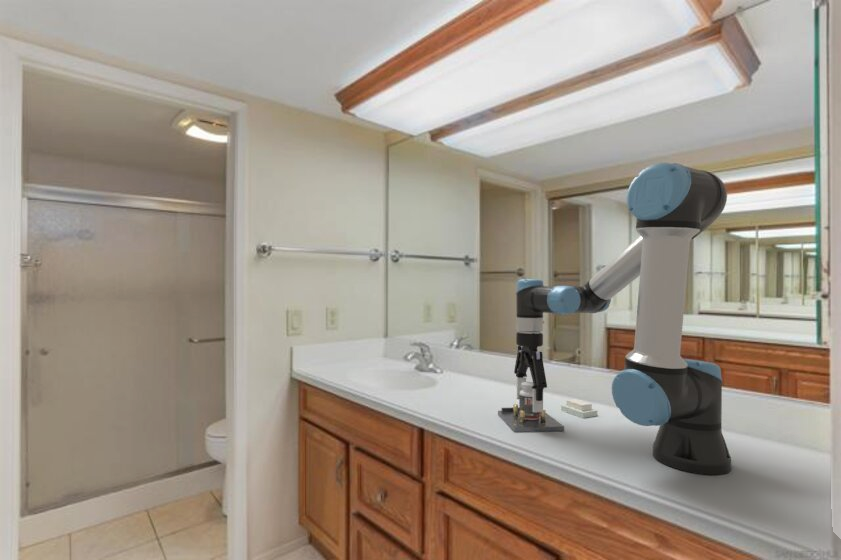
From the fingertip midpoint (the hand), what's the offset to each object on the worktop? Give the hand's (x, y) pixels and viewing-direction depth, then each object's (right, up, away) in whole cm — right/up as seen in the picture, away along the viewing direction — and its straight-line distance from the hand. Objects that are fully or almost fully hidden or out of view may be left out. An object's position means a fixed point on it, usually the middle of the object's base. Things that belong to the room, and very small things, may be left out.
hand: (529, 405), depth 125 cm
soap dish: (+18, -5, +10) cm, 21 cm away
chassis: (0, -5, 0) cm, 5 cm away
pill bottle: (0, -4, 0) cm, 4 cm away
